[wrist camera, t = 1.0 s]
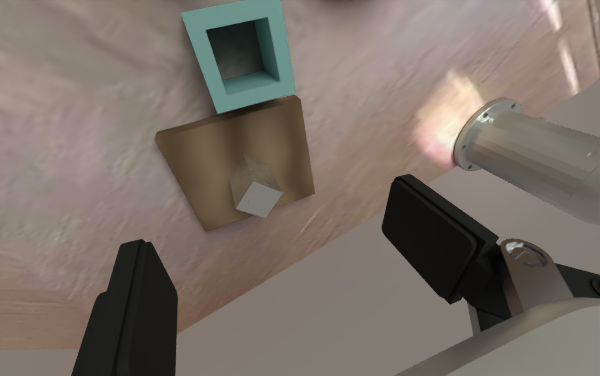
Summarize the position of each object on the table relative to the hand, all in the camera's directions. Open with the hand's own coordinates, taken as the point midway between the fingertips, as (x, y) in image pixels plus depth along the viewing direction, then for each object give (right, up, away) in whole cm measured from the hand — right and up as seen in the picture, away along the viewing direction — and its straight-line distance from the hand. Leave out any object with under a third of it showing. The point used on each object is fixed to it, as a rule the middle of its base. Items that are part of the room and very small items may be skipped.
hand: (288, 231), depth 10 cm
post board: (-6, +5, +21) cm, 22 cm away
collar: (-6, +15, +14) cm, 21 cm away
